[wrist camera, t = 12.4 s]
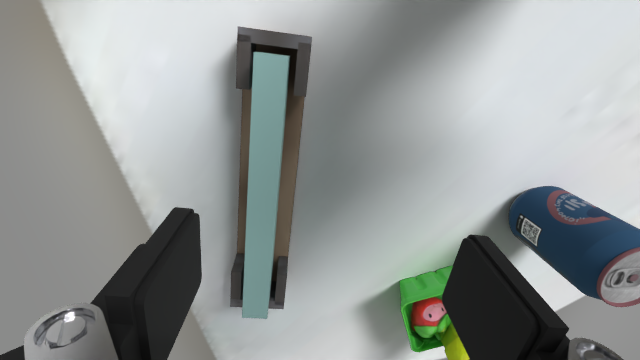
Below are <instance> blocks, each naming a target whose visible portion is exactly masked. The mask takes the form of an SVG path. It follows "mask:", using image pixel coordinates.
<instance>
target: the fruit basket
mask: <svg viewBox="0 0 640 360" xmlns="http://www.w3.org/2000/svg"><path fill="white" fill-rule="evenodd" d="M452 267H453V266H448V267H445V268H442V269H439V270H437V271H436V272H428V273H424V274H421V275H418V276H417V277H416V278H415V277H411V278H407V279H404V280H401V281H400V293H401V313H402V317H403V320H404V323H405V327H406V330H407V334H408V338H409V342H410V346H411V349H412V350H413V351H415V352H422V351H425V350H429V349H433V348H437V347H440V346H444V347H445V353H446V356H447V358H448V360H470V358H469V356H468V354H467V352H466V350H465V348H464V346H463V344H462V342H461V340H460V338H459V336H458V334H457V332H456V330H455V328H454V326H453V324H452V322H451V320H450V318H449V316H448V314H447V312H446V310H445V308H444V306H443V302H442V295H443V292H444V289H445V286H446V283H447V281H448V278H449V275H450V273H451V270H452Z"/></svg>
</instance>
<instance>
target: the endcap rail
mask: <svg viewBox="0 0 640 360" xmlns="http://www.w3.org/2000/svg"><path fill="white" fill-rule="evenodd" d="M311 42H312V37H309V36H302V35H295V34H288V33H281V32H273V31H266V30H259V29H252V28H245V27H238V38H237V76H236V88H238V89H243V90H242V120H241V150H240V179H239V209H238V239H237V255H236V258H235V261H234V265H233V268H232V271H231V303H230V307H243V285H244V262H245V239H246V217H247V194H248V171H249V148H250V125H251V102H252V79H253V57H254V52H267V53H275V54H282V55H290V67H289V79H288V91H287V103H286V115H285V127H284V139H283V151H282V163H281V175H280V187H279V199H278V211H277V223H276V235H275V246H274V258H273V270H272V281H271V290H270V298H269V307H268V308H270V309H283V308H284V298H285V289H286V279H287V264H288V251H289V241H290V232H291V222H292V212H293V203H294V193H295V183H296V174H297V164H298V155H299V145H300V135H301V126H302V116H303V107H304V97H306V90H307V80H308V71H309V61H310V52H311Z"/></svg>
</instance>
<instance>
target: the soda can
mask: <svg viewBox="0 0 640 360" xmlns="http://www.w3.org/2000/svg"><path fill="white" fill-rule="evenodd" d="M509 224H510V228H511V230H512V232H513V234H514V235H515V236H516V237H517V238H518V239H519V240H521V241H522V242H523V243H524V244H525V245H526V246H528V247H529V248H530V249H531V250H532V251H534V252H535V253H536V254H537V255H538V256H539V257H541V258H542V259H543V260H544V261H545V262H547V263H548V264H549V265H550V266H551V267H552V268H554V269H555V270H556V271H557V272H558V273H560V274H561V275H562V276H563V277H564V278H566V279H567V280H568V281H569V282H570V283H571V284H573V285H574V286H575V287H576V288H577V289H579V290H580V291H581V292H582V293H584V294H585V295H587V296H590V297H594V298H597V299H600V300H603V301H604V302H606V303H607V304H609V305H612V306H615V307H627V306H632V305H636V304H639V303H640V229H638V228H636V227H634V226H632V225H630V224H628V223H626V222H624V221H623V220H621V219H619V218H617V217H615V216H613V215H611V214H609V213H607V212H605V211H603V210H602V209H600V208H598V207H596V206H594V205H592V204H590V203H588V202H586V201H584V200H582V199H581V198H579V197H577V196H575V195H573V194H571V193H569V192H567V191H565V190H563V189H561V188H559V187H554V186H543V187H537V188H532V189H529V190H527V191H525V192H523V193H522V194H520V195H519V196H518V197H517V198H516V199H515V200H514V202H513V203H512V205H511V207H510V210H509Z"/></svg>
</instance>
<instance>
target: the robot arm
mask: <svg viewBox="0 0 640 360" xmlns="http://www.w3.org/2000/svg"><path fill="white" fill-rule="evenodd" d="M201 277H202V273H201V246H200V219H199V214H197V213H194V210H193V209H189V208H178V207H175V208H174V209H173V210H172V211H171V212H170V214H169V215H168V216H167V217H166V219H165V220H164V221H163V222H162V224H161V225H160V226H159V227H158V229H157V230H156V231H155V232H154V234H153V235H152V236H151V237H150V239H149V240H148V241H147V242H146V244H141V245H139V246H138V247H137V248H136V249H135V250H134V251H133V253H132V254H131V255H130V256H129V257H128V259H127V260H126V261H125V262H124V263H123V265H122V266H121V267H120V268H119V270H118V271H117V272H116V273H115V274H114V276H113V277H112V278H111V280H110V281H109V282H108V283H107V284H106V285H105V286H104V288H103V289H102V290H101V291H100V293H99V294H98V295H97V296H96V297H95V299H94V300H93V301H92V302H91V303H90V304H88V303H77V304H71V305H67V306H63V307H60V308H58V309H56V310H54V311H51V312H49V313H48V314H46V315H45V316H43V317H41V318H40V319H39V320H38V321H37V322H35V323H34V324H33V325H32V326H31V327H30V329H29V330H28V332H27V333H26V335H25V339H24V345H23V346H21V347H18V348H16V349H14V350H11V351H9V352H7V353H5V354H2V355H0V360H167V358H168V356H169V354H170V351H171V349H172V347H173V345H174V343H175V340H176V338H177V336H178V333H179V331H180V329H181V327H182V325H183V322H184V320H185V317H186V316H187V313H188V311H189V309H190V307H191V304H192V302H193V300H194V298H195V295H196V293H197V291H198V289H199V286H200V283H201ZM442 302H443V306H444V308H445V310H446V312H447V314H448V316H449V318H450V320H451V322H452V324H453V326H454V328H455V330H456V332H457V334H458V336H459V338H460V340H461V342H462V344H463V346H464V348H465V350H466V352H467V354H468V356H469V358H470V360H624V359H622V358H621V357H620V356H619V355H618V354H616V353H615V352H614V351H612V350H610V349H609V348H607V347H605V346H604V345H602V344H600V343H598V342H595V341H593V340H590V339H586V338H574V339H572V340H569V339H568V338H567V337H566V333H567V332H568V330H569V328H568V327H567V326H566V324H565V323H564V322H563V321H562V320H561V319H560V318H559V316H558V315H557V314H556V313H555V312H554V311H553V310H552V308H551V307H550V306H549V305H548V304H547V303H546V302H545V301H544V299H543V298H542V297H541V296H540V295H539V294H538V293H537V292H536V290H535V289H534V288H533V287H532V286H531V285H530V284H529V282H528V281H527V280H526V279H525V278H524V277H523V276H522V275H521V273H520V272H519V271H518V270H517V269H516V268H515V267H514V265H513V264H512V263H511V262H510V261H509V260H508V259H507V258H506V256H505V255H504V254H503V253H502V252H501V251H500V250H499V248H498V247H497V246H496V245H495V244H494V243H493V242H492V241H491V239H490V238H489V237H487V236H479V235H469V236H468V237H467V238H465V239H463V241H462V243H461V246H460V248H459V251H458V254H457V256H456V259H455V262H454V265H453V267H452V270H451V273H450V275H449V278H448V281H447V283H446V286H445V289H444V292H443V295H442Z"/></svg>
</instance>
